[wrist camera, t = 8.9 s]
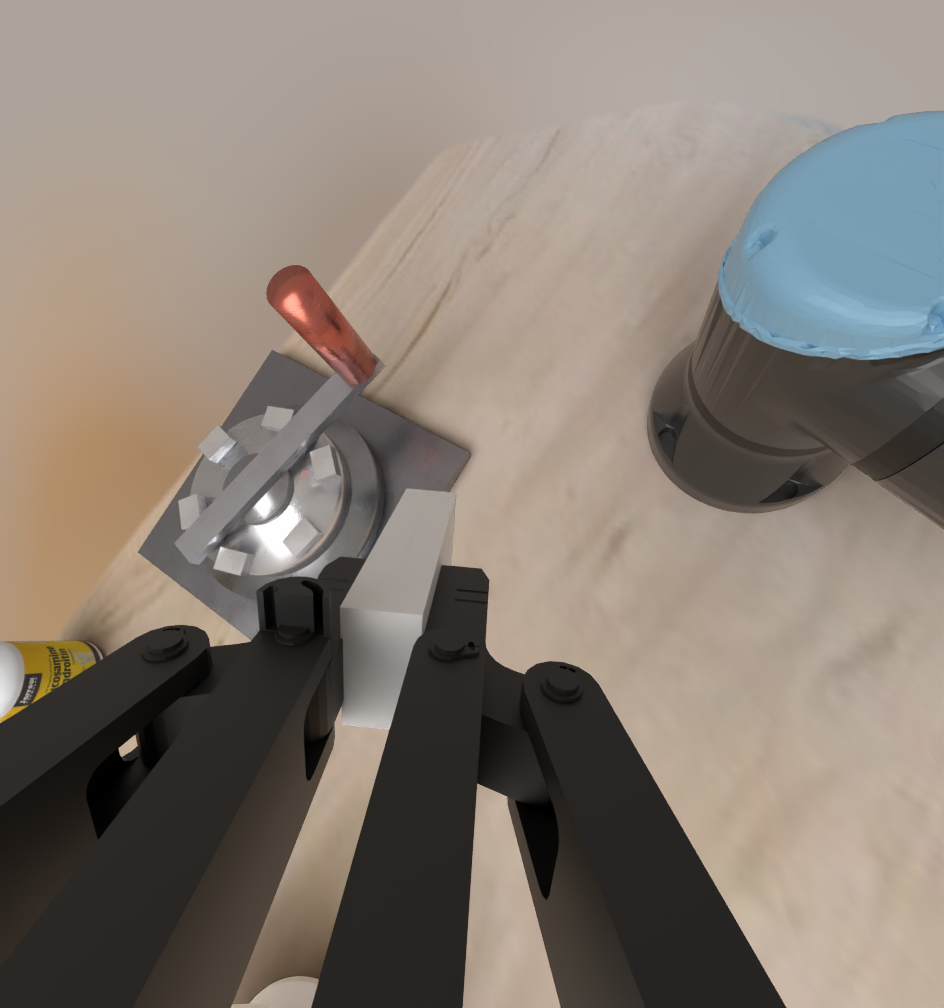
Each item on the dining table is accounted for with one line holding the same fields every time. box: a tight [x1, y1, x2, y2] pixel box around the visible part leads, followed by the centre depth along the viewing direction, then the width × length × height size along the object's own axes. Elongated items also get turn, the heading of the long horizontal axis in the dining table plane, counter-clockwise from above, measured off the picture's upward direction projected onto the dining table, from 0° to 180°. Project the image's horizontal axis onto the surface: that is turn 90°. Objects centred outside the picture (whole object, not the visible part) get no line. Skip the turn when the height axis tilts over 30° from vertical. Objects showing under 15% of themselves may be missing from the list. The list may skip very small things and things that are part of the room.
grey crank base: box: [138, 350, 470, 640], centre depth 47 cm, size 24×24×4 cm
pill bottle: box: [0, 641, 103, 721], centre depth 44 cm, size 6×6×12 cm
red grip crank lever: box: [174, 265, 385, 577], centre depth 38 cm, size 22×14×14 cm, turn 136°
